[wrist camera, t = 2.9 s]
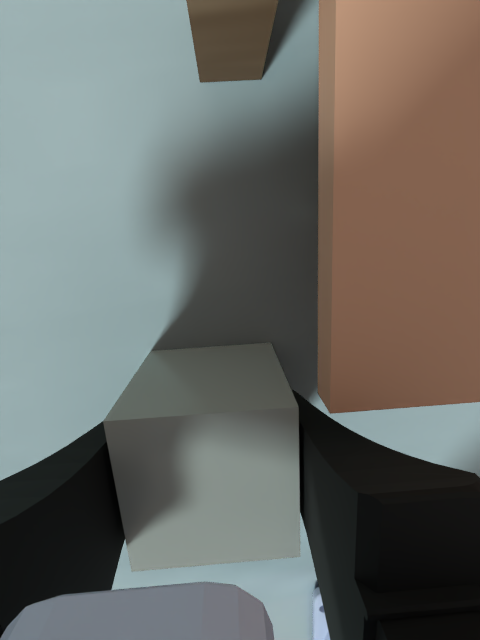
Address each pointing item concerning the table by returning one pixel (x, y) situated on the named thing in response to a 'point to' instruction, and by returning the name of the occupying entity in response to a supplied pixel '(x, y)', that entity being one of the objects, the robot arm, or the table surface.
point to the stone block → (207, 458)
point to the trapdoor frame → (231, 37)
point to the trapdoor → (398, 203)
